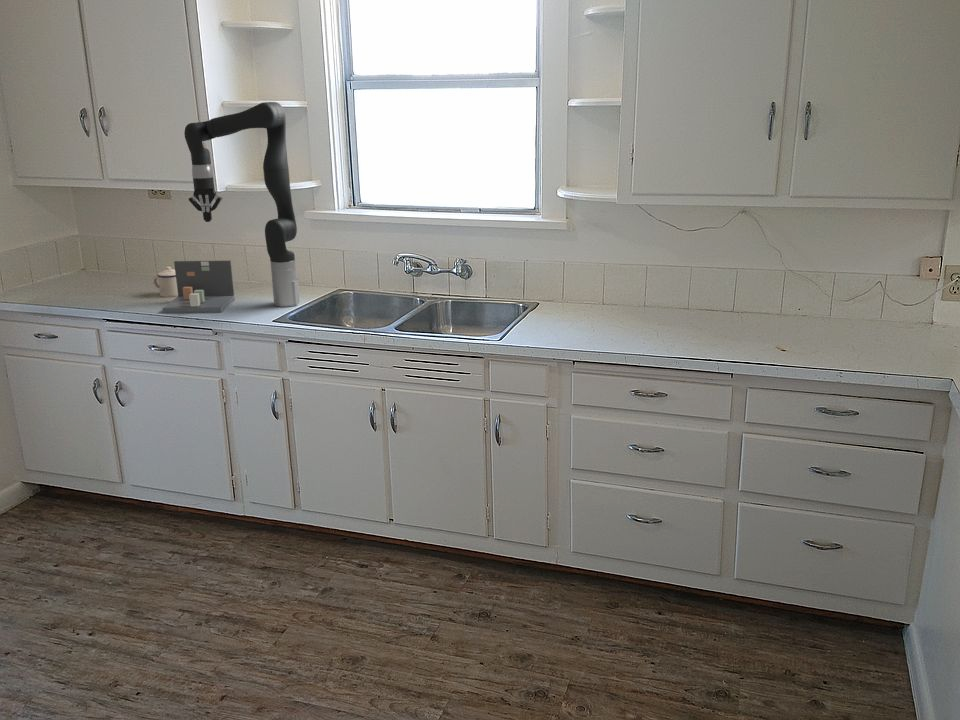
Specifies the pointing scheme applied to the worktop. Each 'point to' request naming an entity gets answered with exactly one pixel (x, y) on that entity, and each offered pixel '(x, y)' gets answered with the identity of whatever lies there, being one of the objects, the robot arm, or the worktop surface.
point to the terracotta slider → (187, 292)
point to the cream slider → (194, 299)
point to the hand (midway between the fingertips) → (207, 221)
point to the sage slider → (200, 295)
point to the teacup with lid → (167, 282)
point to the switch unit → (203, 286)
